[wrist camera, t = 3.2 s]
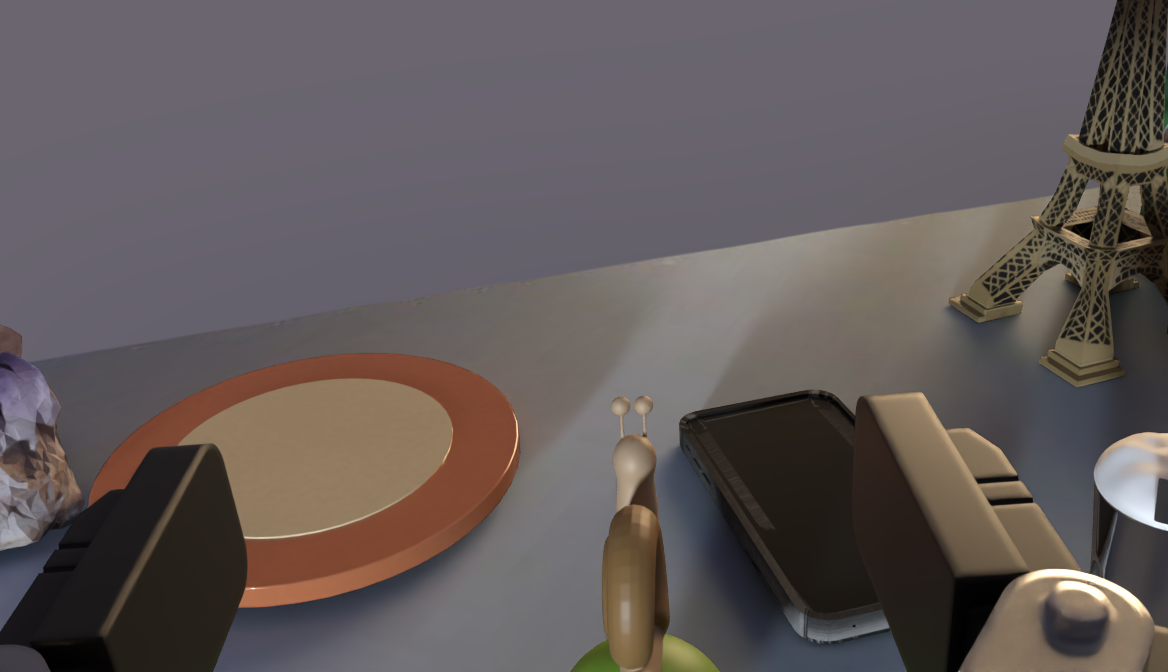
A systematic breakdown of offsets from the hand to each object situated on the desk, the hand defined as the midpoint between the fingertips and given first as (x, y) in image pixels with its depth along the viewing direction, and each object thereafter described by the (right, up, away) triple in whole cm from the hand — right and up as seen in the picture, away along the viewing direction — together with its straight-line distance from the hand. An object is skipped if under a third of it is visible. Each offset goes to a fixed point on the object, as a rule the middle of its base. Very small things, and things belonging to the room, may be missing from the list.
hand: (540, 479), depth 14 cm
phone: (+10, -6, +32) cm, 34 cm away
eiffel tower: (+28, +2, +45) cm, 53 cm away
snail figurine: (+3, -12, +20) cm, 24 cm away
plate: (-12, -5, +37) cm, 39 cm away
